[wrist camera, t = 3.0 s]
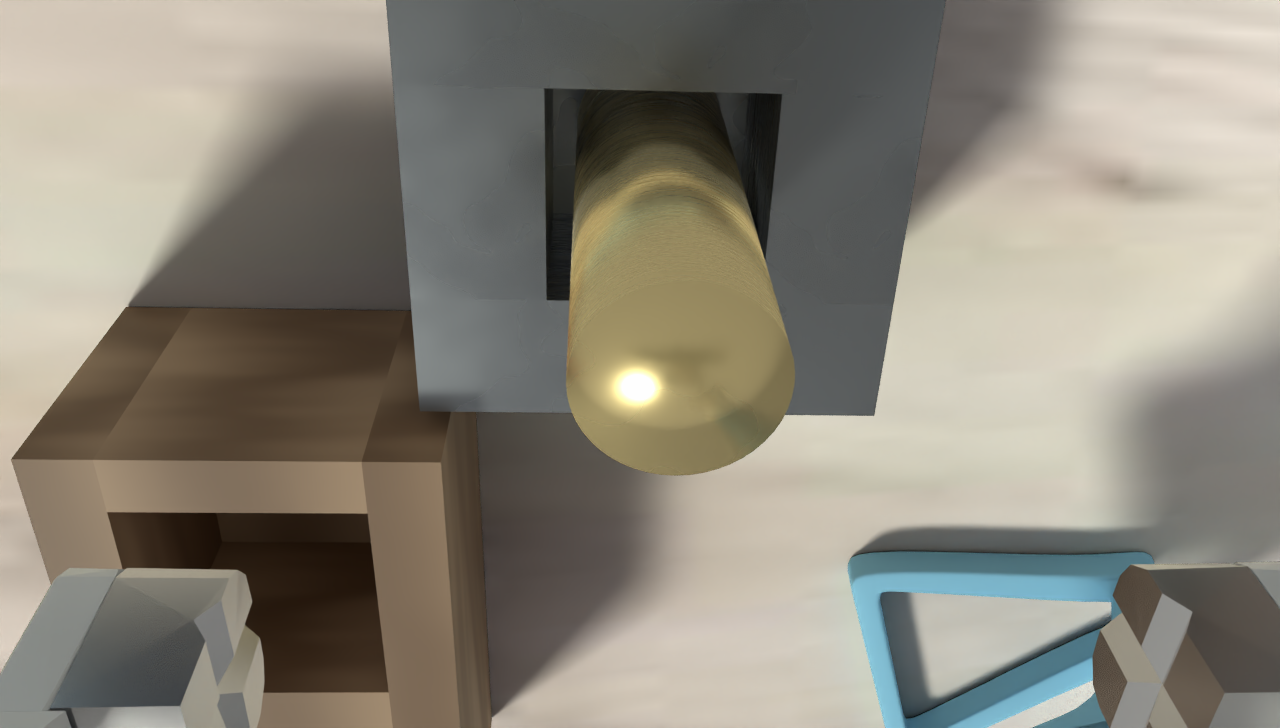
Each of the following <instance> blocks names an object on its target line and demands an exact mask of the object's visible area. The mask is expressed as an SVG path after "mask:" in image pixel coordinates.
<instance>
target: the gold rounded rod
mask: <svg viewBox="0 0 1280 728" xmlns="http://www.w3.org/2000/svg"><path fill="white" fill-rule="evenodd" d="M794 384H795V367H794V359H793V355H792V351H791V347H790V344H789V341H788V337H787V334H786V330H785V327H784V324H783V320H782V317H781V313H780V310H779V306H778V303H777V300H776V296H775V293H774V289H773V286H772V283H771V279H770V276H769V272H768V269H767V266H766V262H765V259H764V255H763V252H762V248H761V245H760V242H759V238H758V235H757V231H756V228H755V225H754V221H753V218H752V214H751V211H750V208H749V204H748V201H747V197H746V194H745V191H744V187H743V184H742V180H741V177H740V173H739V170H738V167H737V163H736V160H735V156H734V153H733V150H732V146H731V143H730V139H729V136H728V133H727V129H726V126H725V122H724V119H723V115H722V112H721V109H720V105H719V102H718V99H717V97H716V94H715V92H684V91H641V90H597V89H587V90H586V92H585V94H584V96H583V98H582V101H581V104H580V107H579V112H578V119H577V139H576V162H575V185H574V208H573V232H572V255H571V278H570V301H569V324H568V347H567V370H566V389H567V397H568V402H569V406H570V409H571V411H572V414H573V416H574V419H575V420H576V422H577V424H578V426H579V427H580V429H581V430H582V432H583V433H584V434H585V435H586V437H587V438H588V439H589V440H590V441H591V442H592V443H593V444H594V445H595V446H596V447H597V448H598V449H599V450H601V451H602V452H603V453H605V454H606V455H608V456H609V457H611V458H612V459H614V460H616V461H618V462H620V463H621V464H624V465H626V466H629V467H631V468H634V469H637V470H641V471H644V472H648V473H654V474H660V475H691V474H698V473H704V472H708V471H712V470H716V469H719V468H721V467H724V466H727V465H729V464H731V463H733V462H735V461H737V460H739V459H741V458H743V457H745V456H746V455H748V454H749V453H751V452H752V451H754V450H755V449H756V448H757V447H759V446H760V445H761V444H762V443H763V442H765V441H766V439H767V438H768V437H769V436H770V435H771V434H772V433H773V432H774V431H775V429H776V428H777V426H778V425H779V424H780V422H781V421H782V419H783V417H784V415H785V413H786V411H787V410H788V407H789V404H790V401H791V399H792V395H793V390H794Z"/></svg>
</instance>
